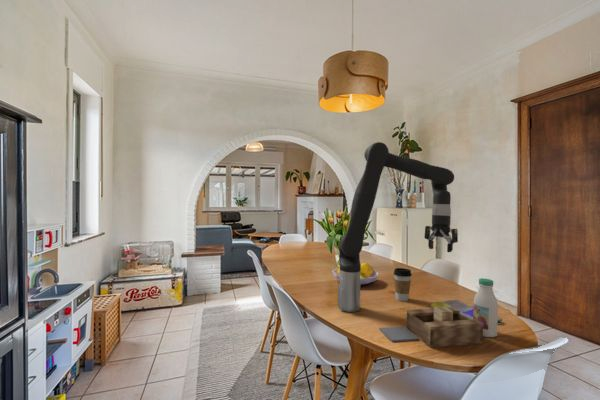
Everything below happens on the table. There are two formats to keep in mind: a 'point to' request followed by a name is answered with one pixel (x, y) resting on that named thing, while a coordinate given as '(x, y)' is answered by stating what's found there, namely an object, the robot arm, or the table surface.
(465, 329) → the walnut box
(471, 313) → the dish towel
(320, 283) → the table surface
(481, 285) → the milk bottle
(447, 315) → the maple block
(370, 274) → the fruit bowl
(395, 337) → the slate pad
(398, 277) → the coffee cup
